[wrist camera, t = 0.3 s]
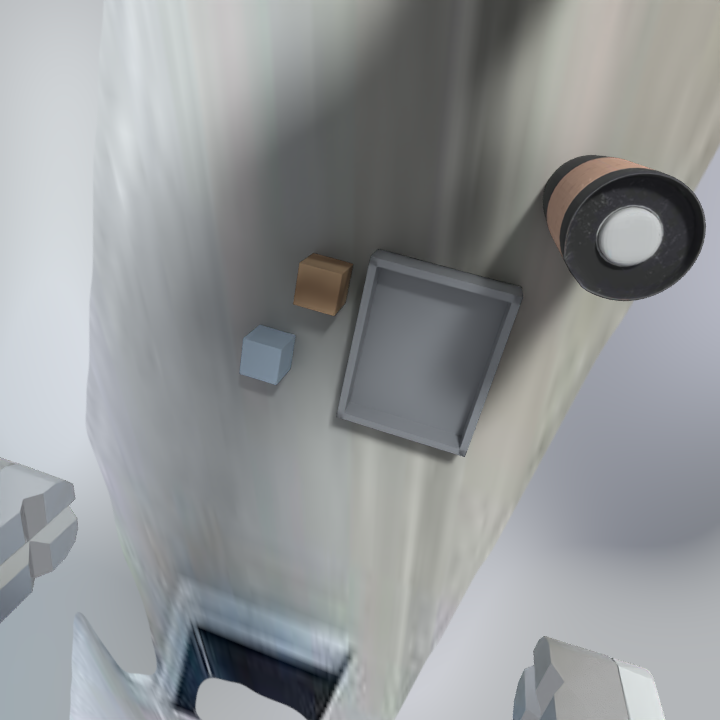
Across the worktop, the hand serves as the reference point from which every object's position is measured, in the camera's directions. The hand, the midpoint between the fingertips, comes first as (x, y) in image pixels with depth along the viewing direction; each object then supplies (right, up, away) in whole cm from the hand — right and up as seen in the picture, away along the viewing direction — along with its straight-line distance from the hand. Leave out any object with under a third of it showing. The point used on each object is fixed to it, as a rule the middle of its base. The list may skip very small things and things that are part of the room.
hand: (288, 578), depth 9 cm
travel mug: (+22, +19, +39) cm, 49 cm away
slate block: (-9, +5, +53) cm, 54 cm away
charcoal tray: (+8, +5, +49) cm, 50 cm away
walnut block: (-2, +13, +48) cm, 50 cm away
